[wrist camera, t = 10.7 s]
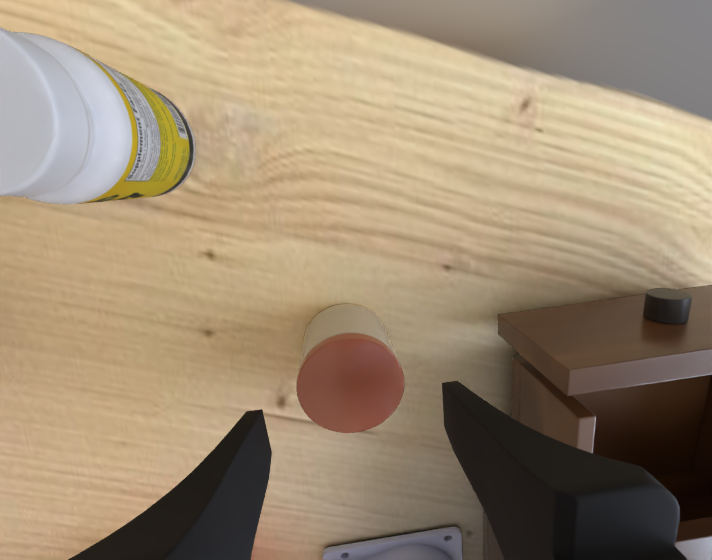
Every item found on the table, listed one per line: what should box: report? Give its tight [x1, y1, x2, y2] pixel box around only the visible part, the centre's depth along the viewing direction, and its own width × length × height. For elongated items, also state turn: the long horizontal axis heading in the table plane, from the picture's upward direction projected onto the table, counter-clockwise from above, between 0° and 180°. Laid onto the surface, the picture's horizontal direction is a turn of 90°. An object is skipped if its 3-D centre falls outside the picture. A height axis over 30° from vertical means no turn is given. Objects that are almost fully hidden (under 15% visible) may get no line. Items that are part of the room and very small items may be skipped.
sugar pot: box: [297, 304, 404, 433], centre depth 17 cm, size 5×5×4 cm
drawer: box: [498, 285, 712, 522], centre depth 18 cm, size 14×13×6 cm
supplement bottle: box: [0, 28, 195, 204], centre depth 12 cm, size 5×5×8 cm
